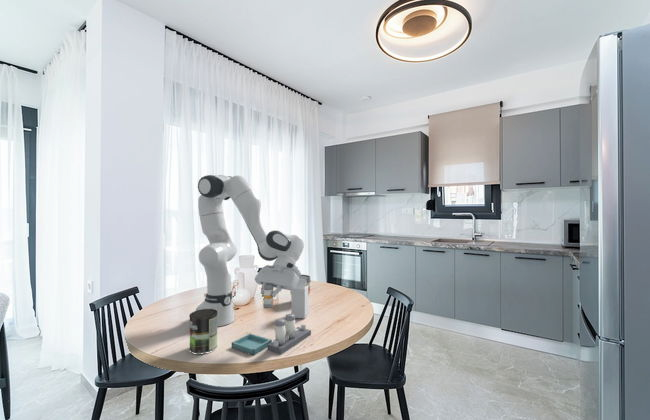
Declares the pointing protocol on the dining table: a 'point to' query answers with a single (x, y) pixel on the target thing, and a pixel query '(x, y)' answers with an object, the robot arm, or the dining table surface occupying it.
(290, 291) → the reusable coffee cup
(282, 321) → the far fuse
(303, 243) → the robot arm
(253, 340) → the tray
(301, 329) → the fuse block
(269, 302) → the marked fuse
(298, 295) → the milk carton
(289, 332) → the middle fuse
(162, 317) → the dining table surface
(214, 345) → the coffee can
